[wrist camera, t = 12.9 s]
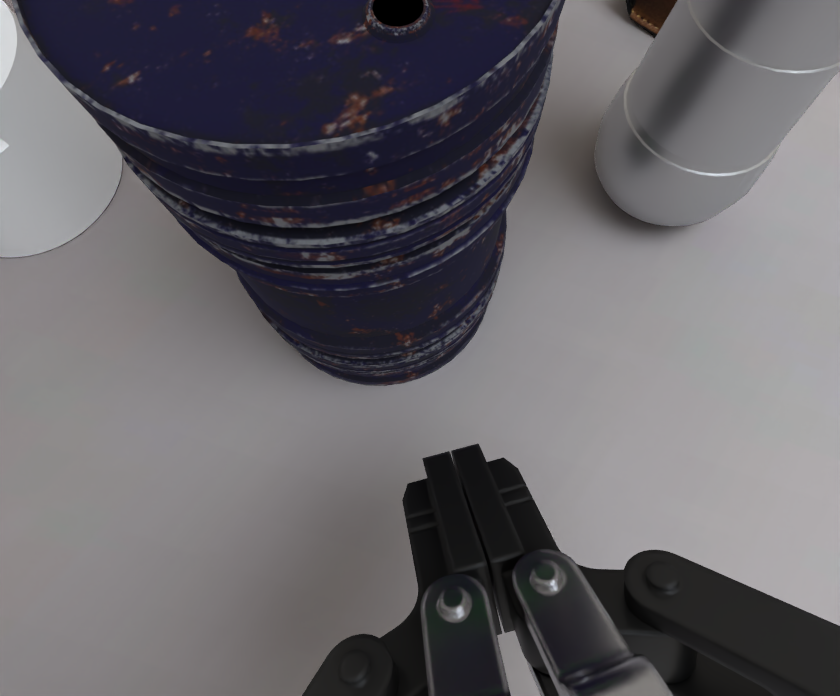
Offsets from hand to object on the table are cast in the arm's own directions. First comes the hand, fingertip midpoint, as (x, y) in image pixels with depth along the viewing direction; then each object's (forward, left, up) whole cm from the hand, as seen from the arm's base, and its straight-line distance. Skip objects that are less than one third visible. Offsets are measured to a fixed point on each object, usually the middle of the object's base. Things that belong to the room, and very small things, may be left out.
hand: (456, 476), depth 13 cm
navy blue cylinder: (+1, +9, -7) cm, 12 cm away
